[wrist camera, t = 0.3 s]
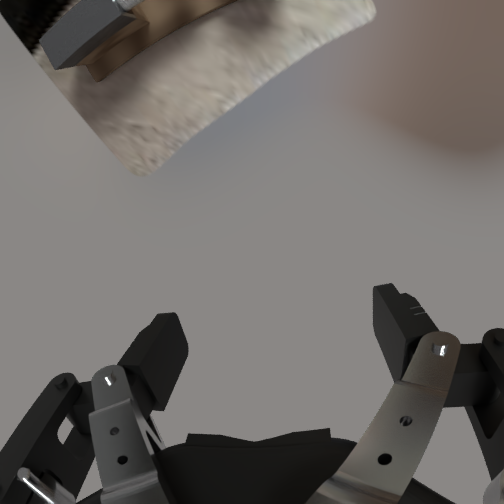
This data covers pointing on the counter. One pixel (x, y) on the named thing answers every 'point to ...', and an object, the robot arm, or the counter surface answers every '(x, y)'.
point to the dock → (146, 31)
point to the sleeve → (83, 31)
